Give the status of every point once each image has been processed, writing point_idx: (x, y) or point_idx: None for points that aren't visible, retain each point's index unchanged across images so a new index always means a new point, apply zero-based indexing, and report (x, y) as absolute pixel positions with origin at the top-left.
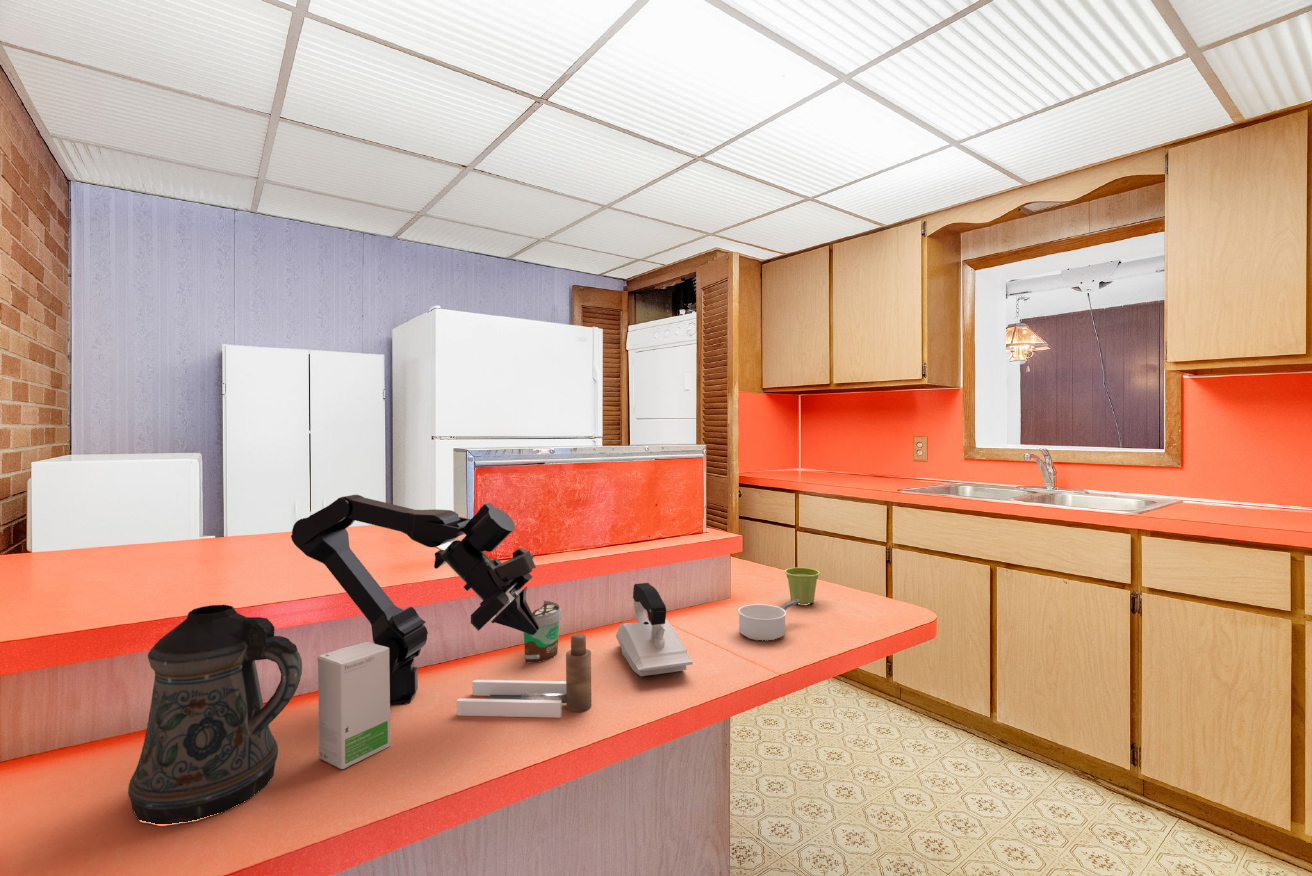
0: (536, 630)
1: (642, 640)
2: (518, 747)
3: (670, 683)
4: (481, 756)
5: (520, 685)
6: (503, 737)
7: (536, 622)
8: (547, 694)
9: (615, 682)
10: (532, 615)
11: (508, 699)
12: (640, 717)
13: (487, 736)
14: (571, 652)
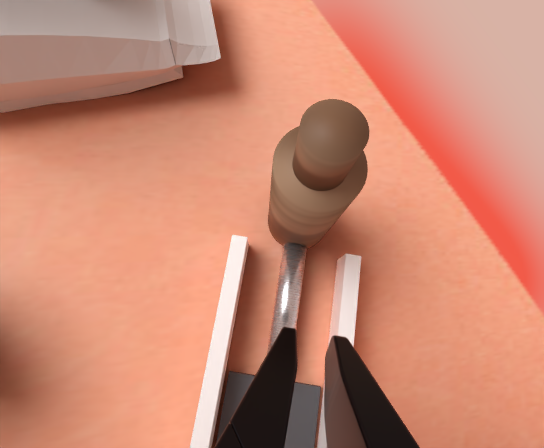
0: (347, 339)
1: (83, 11)
2: (481, 349)
3: None
4: (523, 436)
5: (220, 385)
6: (439, 394)
7: (278, 348)
8: (292, 295)
9: (185, 137)
10: (262, 392)
11: None
12: (358, 100)
13: (435, 439)
14: (333, 186)
